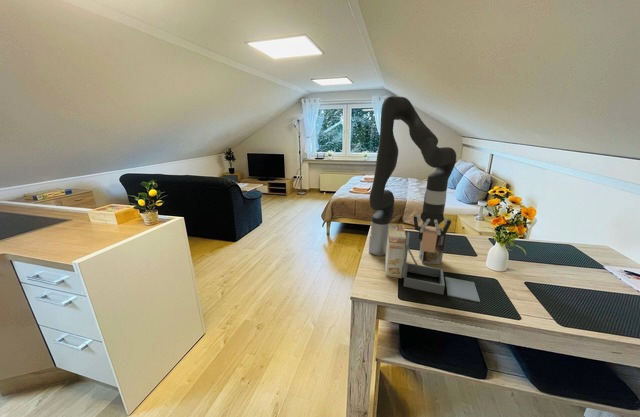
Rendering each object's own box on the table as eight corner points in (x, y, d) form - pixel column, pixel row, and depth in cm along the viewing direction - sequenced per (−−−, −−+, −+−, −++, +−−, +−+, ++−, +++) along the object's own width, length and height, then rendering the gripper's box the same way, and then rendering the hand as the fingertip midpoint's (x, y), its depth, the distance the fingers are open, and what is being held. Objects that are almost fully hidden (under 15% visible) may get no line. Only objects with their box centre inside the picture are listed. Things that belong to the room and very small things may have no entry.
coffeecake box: (402, 278, 108) (406, 237, 102) (385, 276, 110) (388, 236, 104) (400, 261, 122) (403, 224, 116) (385, 259, 123) (388, 223, 117)
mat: (447, 295, 97) (447, 294, 97) (444, 277, 108) (445, 276, 108) (479, 302, 93) (480, 301, 93) (473, 283, 104) (474, 282, 104)
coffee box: (436, 257, 125) (441, 228, 120) (441, 264, 119) (446, 233, 114) (418, 257, 126) (422, 227, 121) (421, 263, 120) (426, 233, 115)
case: (400, 285, 103) (405, 244, 97) (403, 269, 115) (407, 232, 109) (443, 294, 97) (450, 251, 91) (441, 277, 109) (447, 237, 103)
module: (420, 250, 99) (423, 232, 96) (421, 243, 105) (423, 225, 102) (434, 252, 97) (437, 234, 94) (433, 245, 103) (436, 227, 100)
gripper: (414, 201, 94) (409, 242, 99) (456, 205, 89) (449, 248, 94) (414, 196, 100) (410, 235, 106) (454, 200, 95) (447, 240, 101)
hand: (428, 241), depth 100 cm, fingers closed on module, 5 cm apart
